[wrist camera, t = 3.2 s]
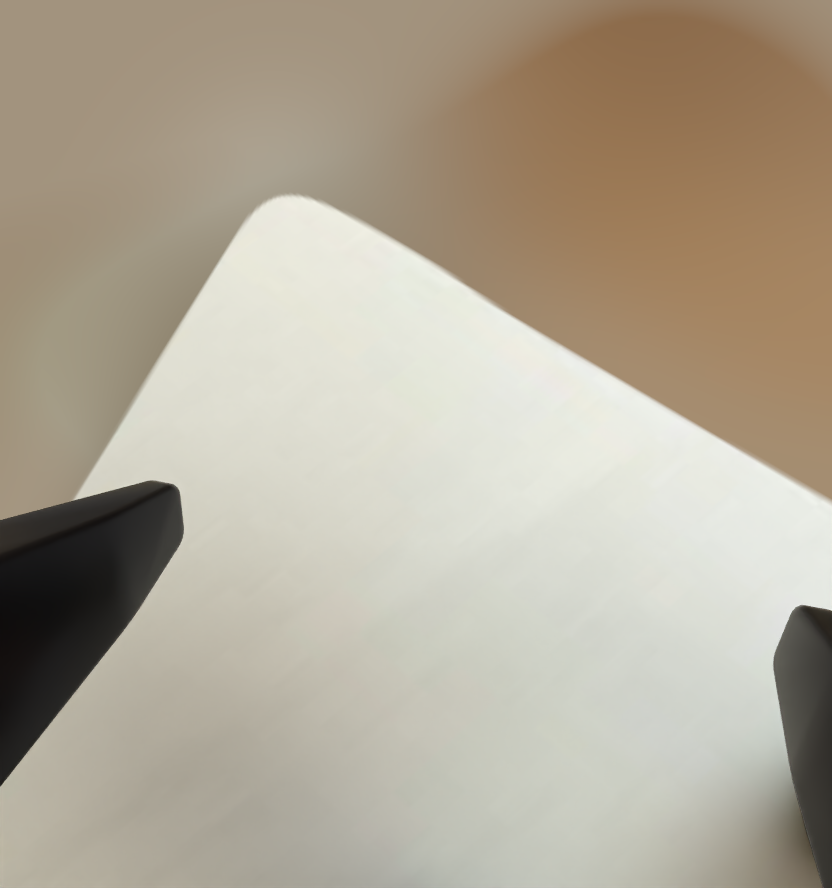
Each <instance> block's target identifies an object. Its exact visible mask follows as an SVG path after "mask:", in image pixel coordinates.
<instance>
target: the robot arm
mask: <svg viewBox="0 0 832 888" xmlns="http://www.w3.org/2000/svg"><path fill="white" fill-rule="evenodd" d="M183 533H184V525H183V516H182V507H181V498H180V492H179V490H178V488H177V487H176V486H175V485H173V484H170V483H164V482H159V481H146V482H142V483H139V484H135V485H131V486H127V487H123V488H120V489H116V490H112V491H108V492H105V493H101V494H97V495H93V496H90V497H86V498H82V499H78V500H75V501H71V502H67V503H64V504H60V505H56V506H52V507H48V508H44V509H41V510H37V511H33V512H29V513H26V514H22V515H18V516H14V517H11V518H7V519H3V520H0V786H1V785H2V784H3V783H4V781H5V780H6V779H7V777H8V776H9V775H10V774H11V772H12V771H13V770H14V769H15V767H16V766H17V765H18V764H19V762H20V761H21V760H22V759H23V757H24V756H25V755H26V753H27V752H28V751H29V750H30V748H31V747H32V746H33V745H34V743H35V742H36V741H37V740H38V738H39V737H40V736H41V734H42V733H43V732H44V731H45V729H46V728H47V727H48V726H49V724H50V723H51V722H52V721H53V719H54V718H55V717H56V716H57V714H58V713H59V712H60V710H61V709H62V708H63V707H64V705H65V704H66V703H67V702H68V700H69V699H70V698H71V697H72V695H73V694H74V693H75V691H76V690H77V689H78V688H79V686H80V685H81V684H82V683H83V681H84V680H85V679H86V678H87V676H88V675H89V674H90V673H91V671H92V670H93V669H94V667H95V666H96V665H97V664H98V662H99V661H100V660H101V659H102V657H103V656H104V655H105V654H106V652H107V651H108V650H109V648H110V647H111V646H112V645H113V643H114V642H115V641H116V640H117V638H118V637H119V636H120V635H121V633H122V632H123V631H124V629H125V628H126V627H127V625H128V624H129V623H130V621H131V620H132V618H133V617H134V615H135V614H136V612H137V611H138V610H139V608H140V607H141V605H142V603H143V602H144V600H145V599H146V597H147V596H148V594H149V592H150V591H151V589H152V588H153V586H154V585H155V583H156V581H157V580H158V578H159V577H160V575H161V574H162V572H163V570H164V569H165V567H166V566H167V564H168V563H169V561H170V559H171V558H172V556H173V555H174V553H175V552H176V550H177V548H178V547H179V545H180V543H181V541H182V538H183ZM773 667H774V675H775V681H776V687H777V693H778V699H779V705H780V711H781V717H782V723H783V729H784V735H785V741H786V747H787V753H788V760H789V765H790V770H791V775H792V780H793V784H794V788H795V792H796V795H797V799H798V803H799V806H800V810H801V813H802V817H803V820H804V824H805V827H806V831H807V834H808V838H809V841H810V844H811V848H812V851H813V855H814V858H815V862H816V865H817V869H818V872H819V876H820V879H821V883H822V886H823V888H832V611H831V610H827V609H822V608H816V607H811V606H806V605H800V606H798V607H796V608H795V609H794V610H793V611H792V613H791V615H790V617H789V620H788V622H787V625H786V627H785V629H784V632H783V634H782V637H781V639H780V641H779V644H778V646H777V649H776V651H775V655H774V662H773Z"/></svg>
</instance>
